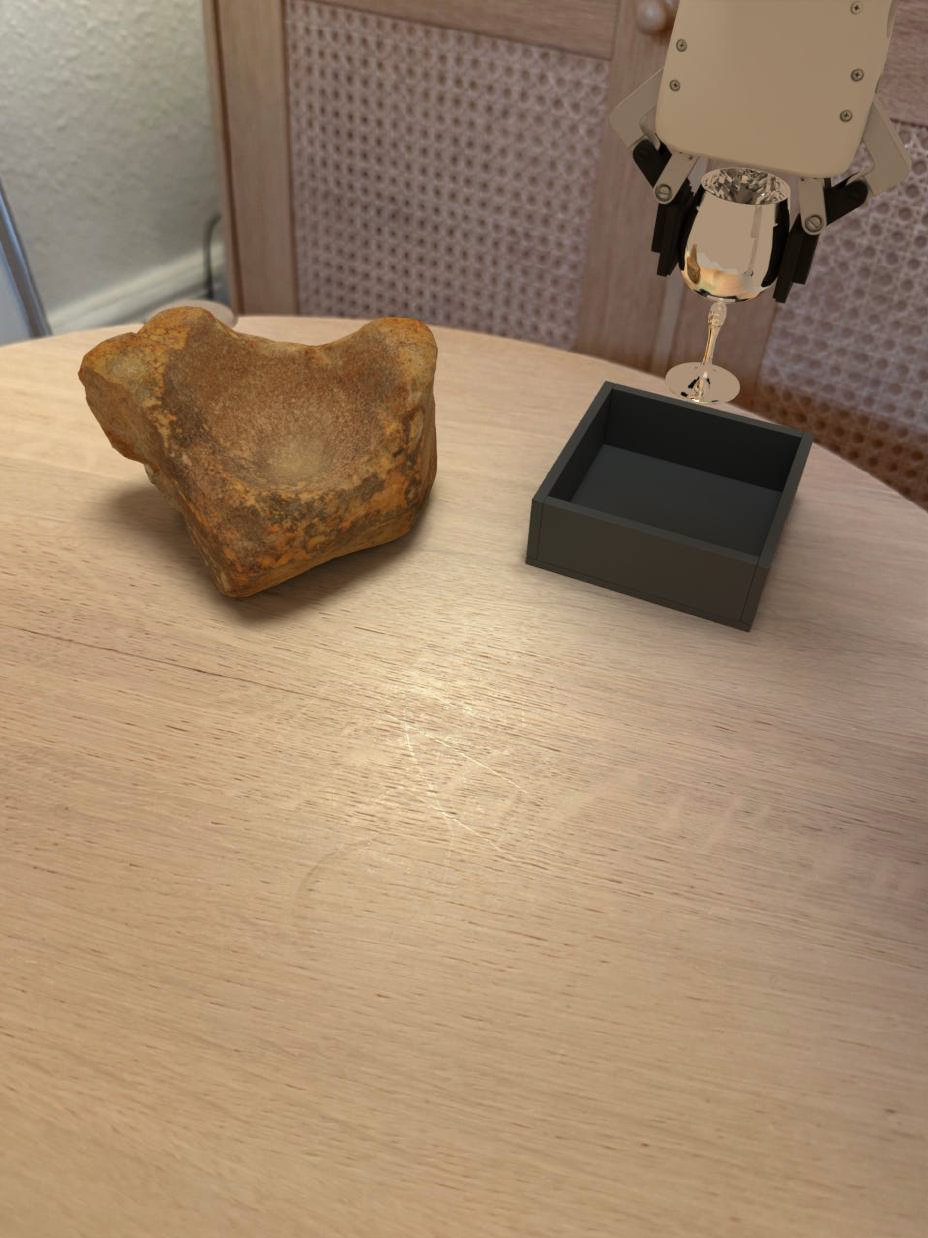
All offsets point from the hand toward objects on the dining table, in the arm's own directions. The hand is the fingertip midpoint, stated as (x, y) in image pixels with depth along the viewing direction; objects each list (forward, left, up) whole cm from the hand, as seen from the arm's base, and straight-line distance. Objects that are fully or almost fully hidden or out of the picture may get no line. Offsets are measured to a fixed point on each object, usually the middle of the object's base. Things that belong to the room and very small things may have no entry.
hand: (726, 275), depth 60 cm
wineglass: (0, 0, -7) cm, 7 cm away
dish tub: (+1, -3, -21) cm, 21 cm away
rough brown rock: (+25, +10, -21) cm, 34 cm away
